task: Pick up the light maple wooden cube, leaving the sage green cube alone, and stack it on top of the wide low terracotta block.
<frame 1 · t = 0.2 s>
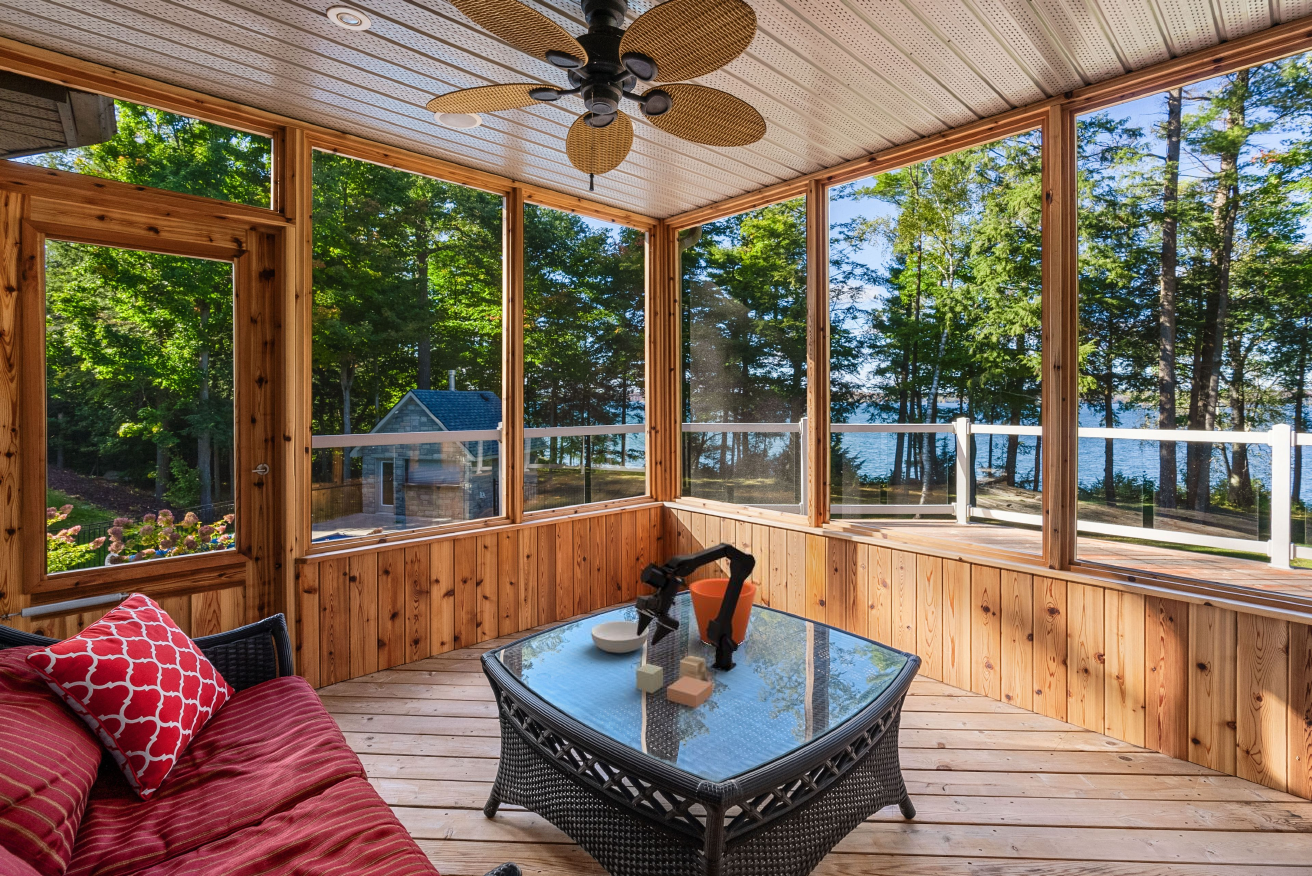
hand: (644, 640, 203), 14 cm above the table, tool tilted 30°, fingers open, 9 cm apart
serving bowl: (620, 648, 235), on the table
flowerpot: (722, 639, 244), on the table
maple cube: (692, 678, 209), on the table
terracotta base block: (690, 698, 196), on the table
sage green cube: (649, 687, 203), on the table
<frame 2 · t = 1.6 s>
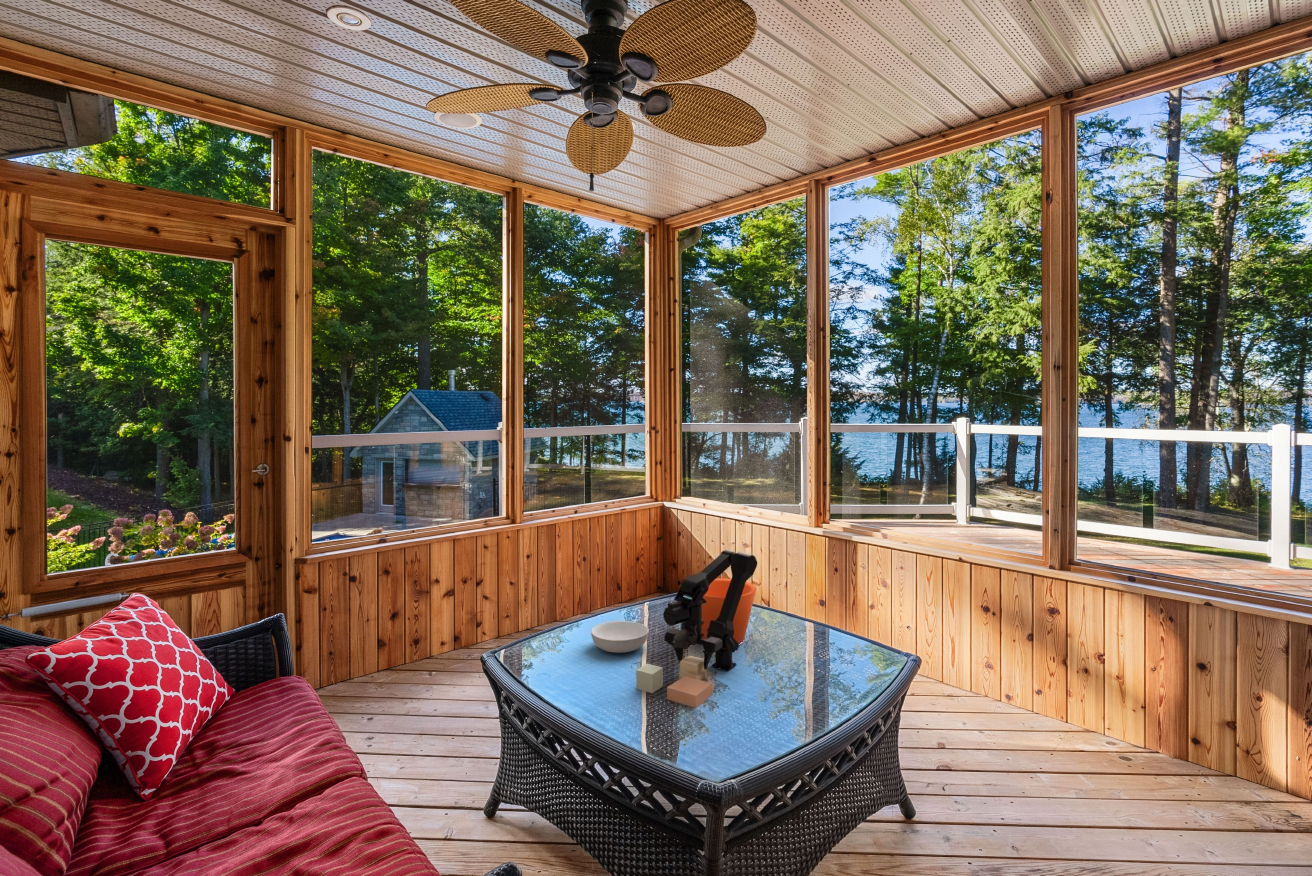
hand: (692, 665, 209), 4 cm above the table, tool pointing down, fingers open, 9 cm apart
nothing on the table moved.
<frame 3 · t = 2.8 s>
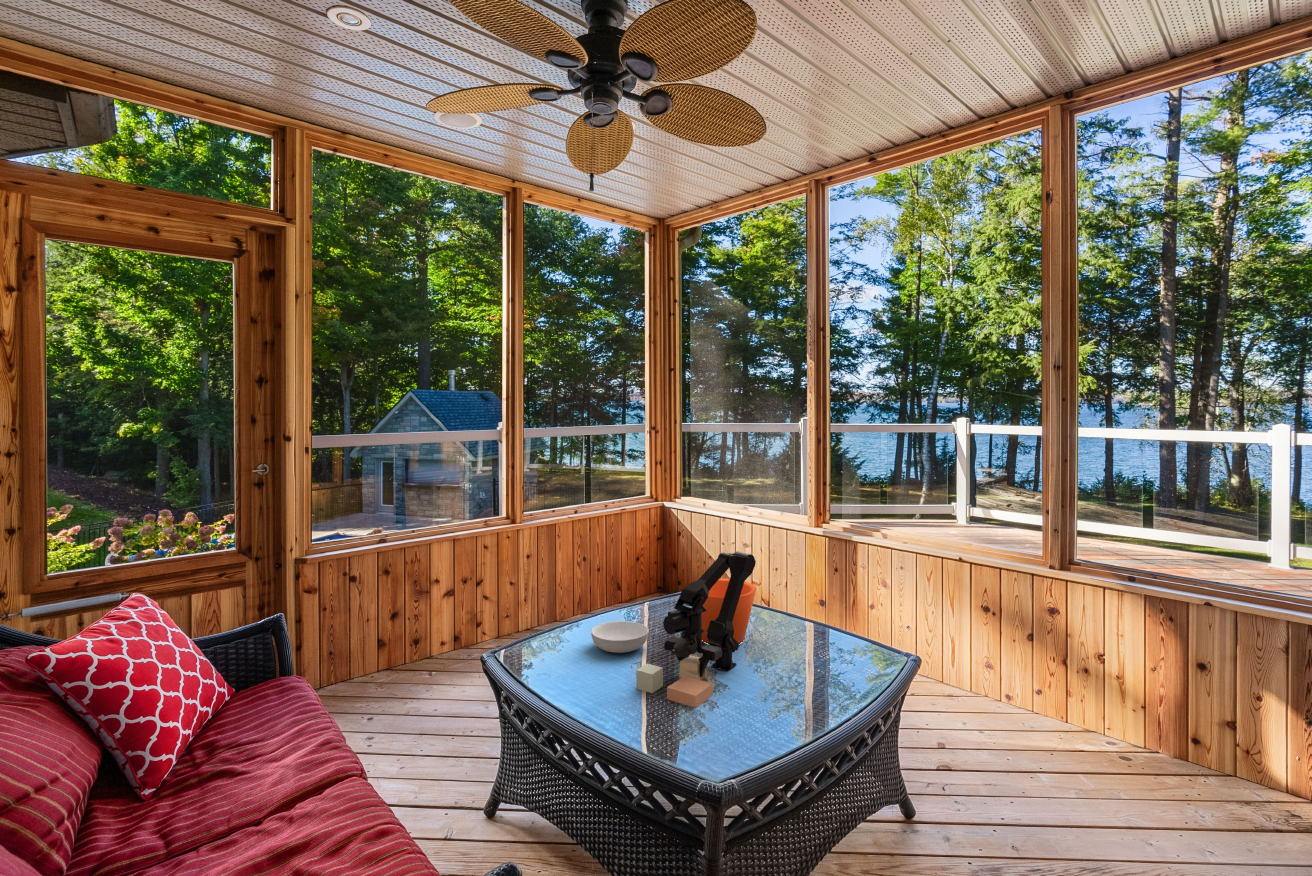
hand: (692, 674, 209), 1 cm above the table, tool pointing down, fingers closed on maple cube, 6 cm apart
maple cube: (692, 678, 209), on the table, touching gripper
everything else where it was.
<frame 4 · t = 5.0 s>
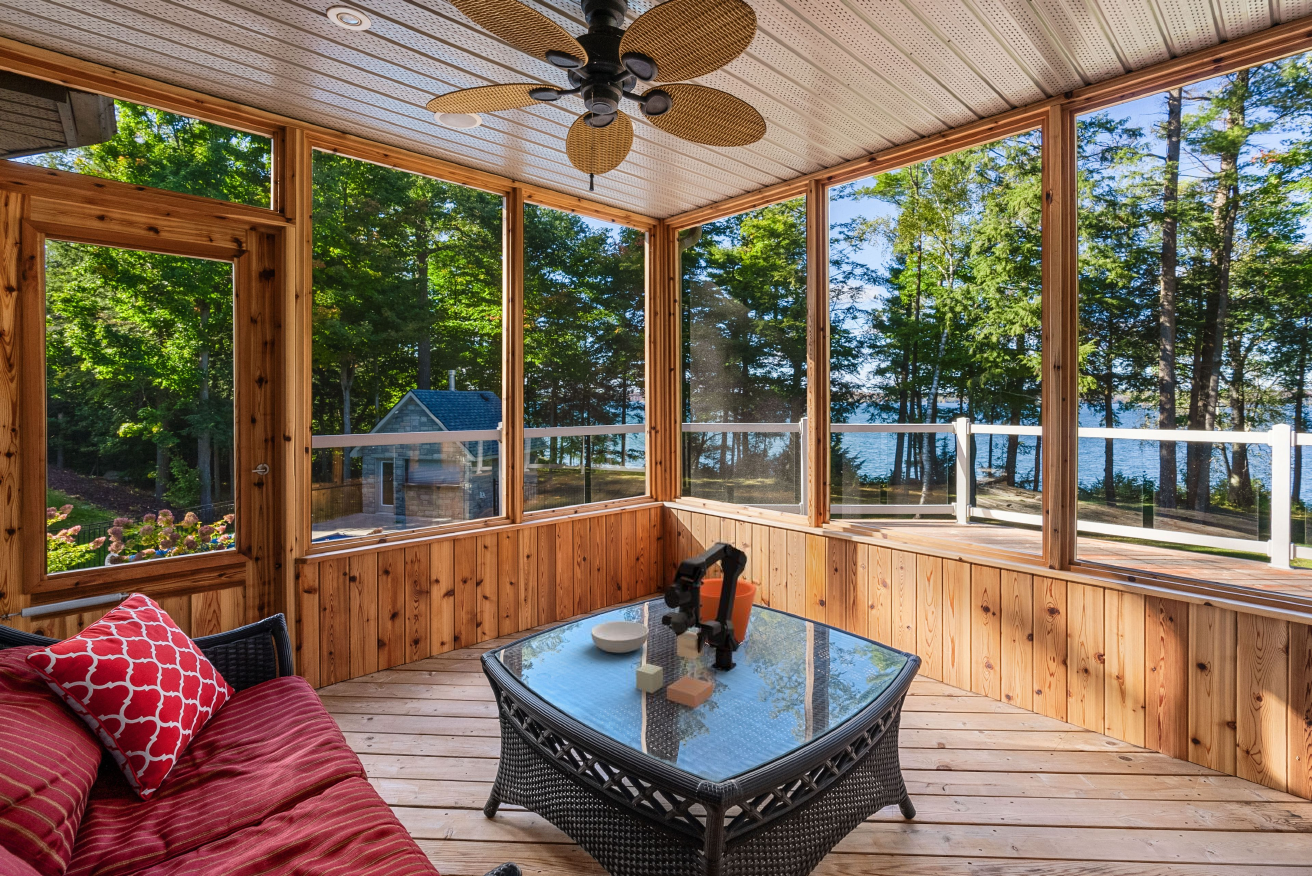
hand: (690, 650, 203), 11 cm above the table, tool pointing down, fingers closed on maple cube, 6 cm apart
maple cube: (690, 654, 203), point 10 cm above the table, touching gripper
everything else where it was.
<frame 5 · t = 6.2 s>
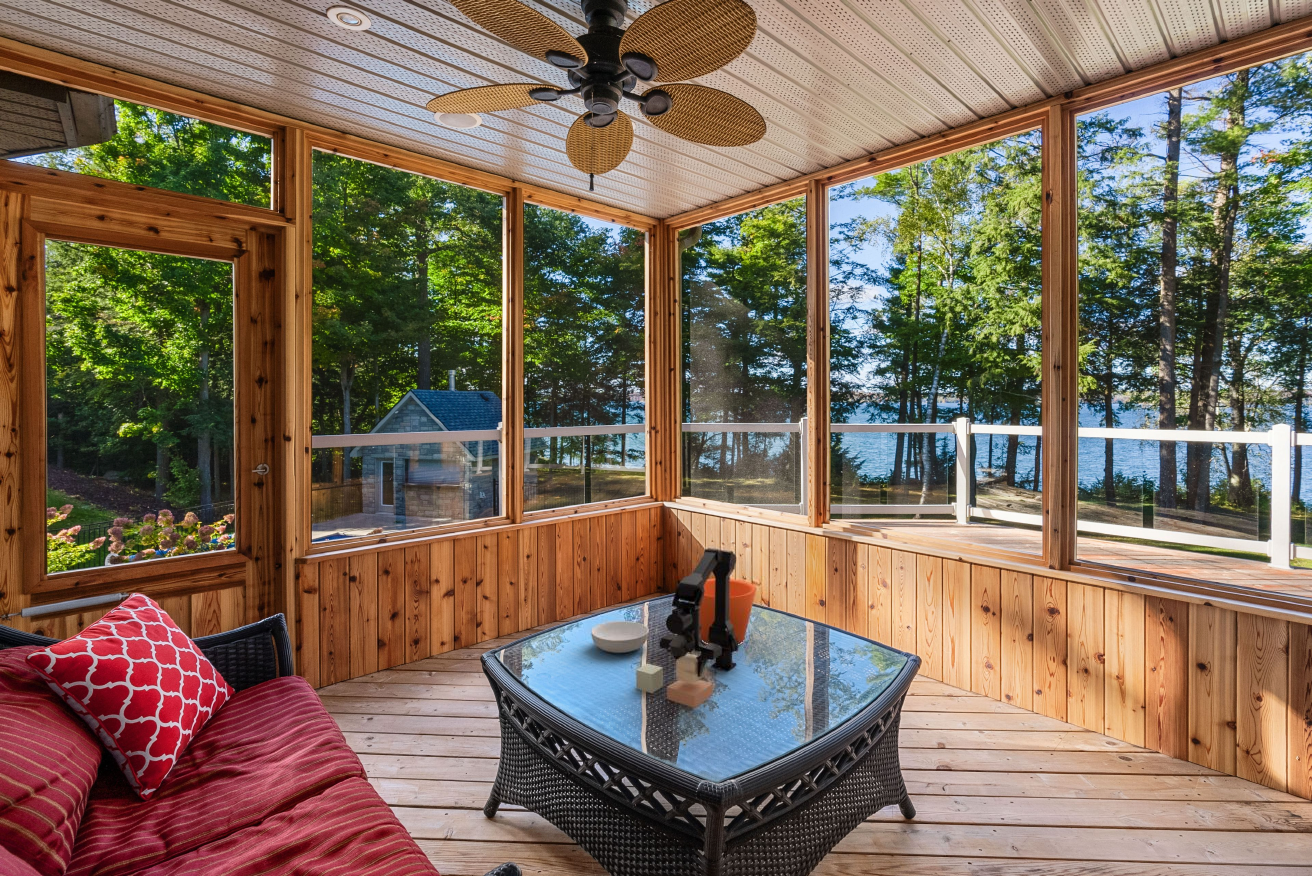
hand: (690, 674, 195), 7 cm above the table, tool pointing down, fingers closed on maple cube, 6 cm apart
maple cube: (690, 678, 196), point 6 cm above the table, touching gripper
everything else where it was.
when the fingers open (7 cm above the table, at t = 7.1 s): maple cube drops 2 cm, resting on terracotta base block.
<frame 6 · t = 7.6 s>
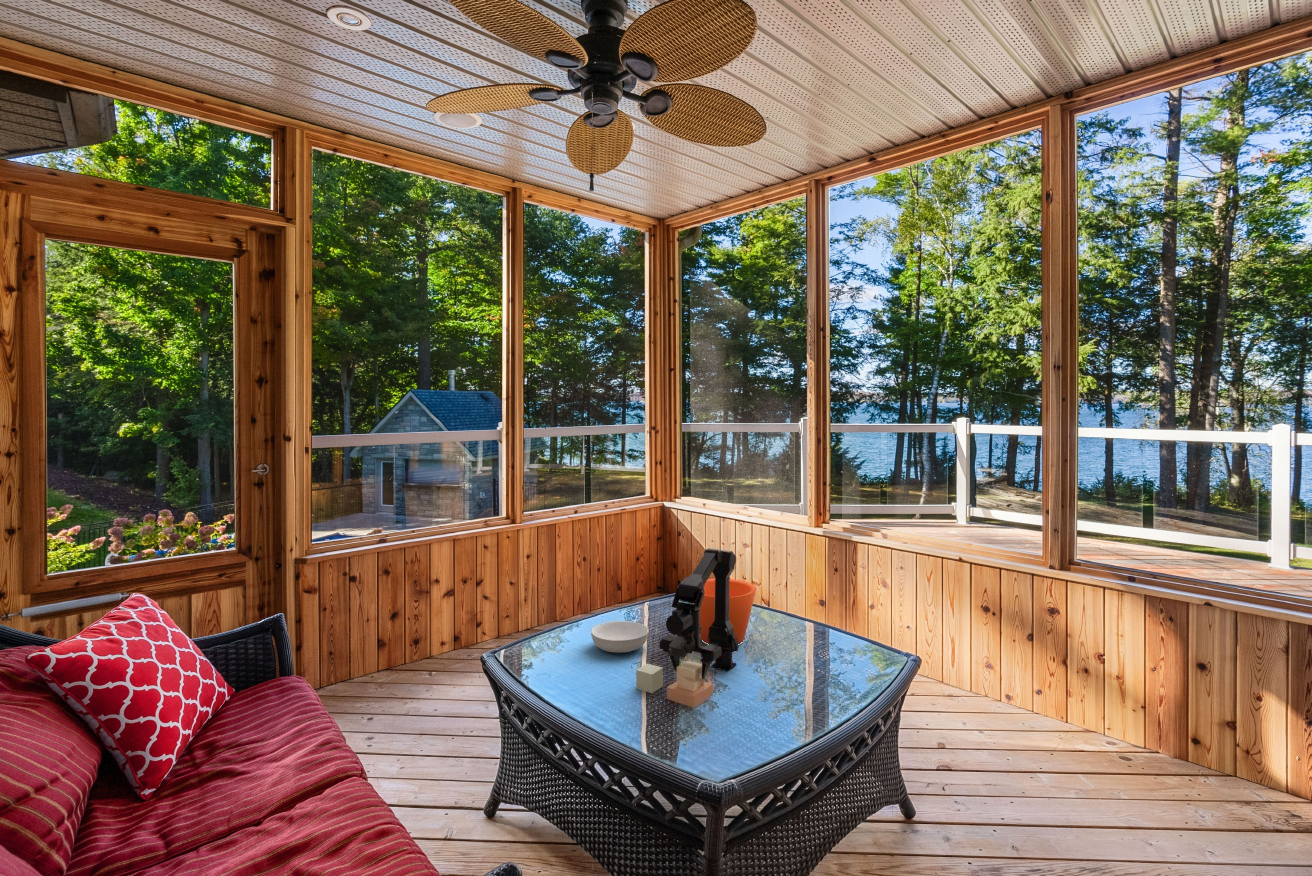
hand: (690, 675, 195), 7 cm above the table, tool pointing down, fingers open, 9 cm apart
maple cube: (690, 685, 196), point 4 cm above the table, touching terracotta base block
terracotta base block: (689, 698, 196), on the table, touching maple cube
everything else where it was.
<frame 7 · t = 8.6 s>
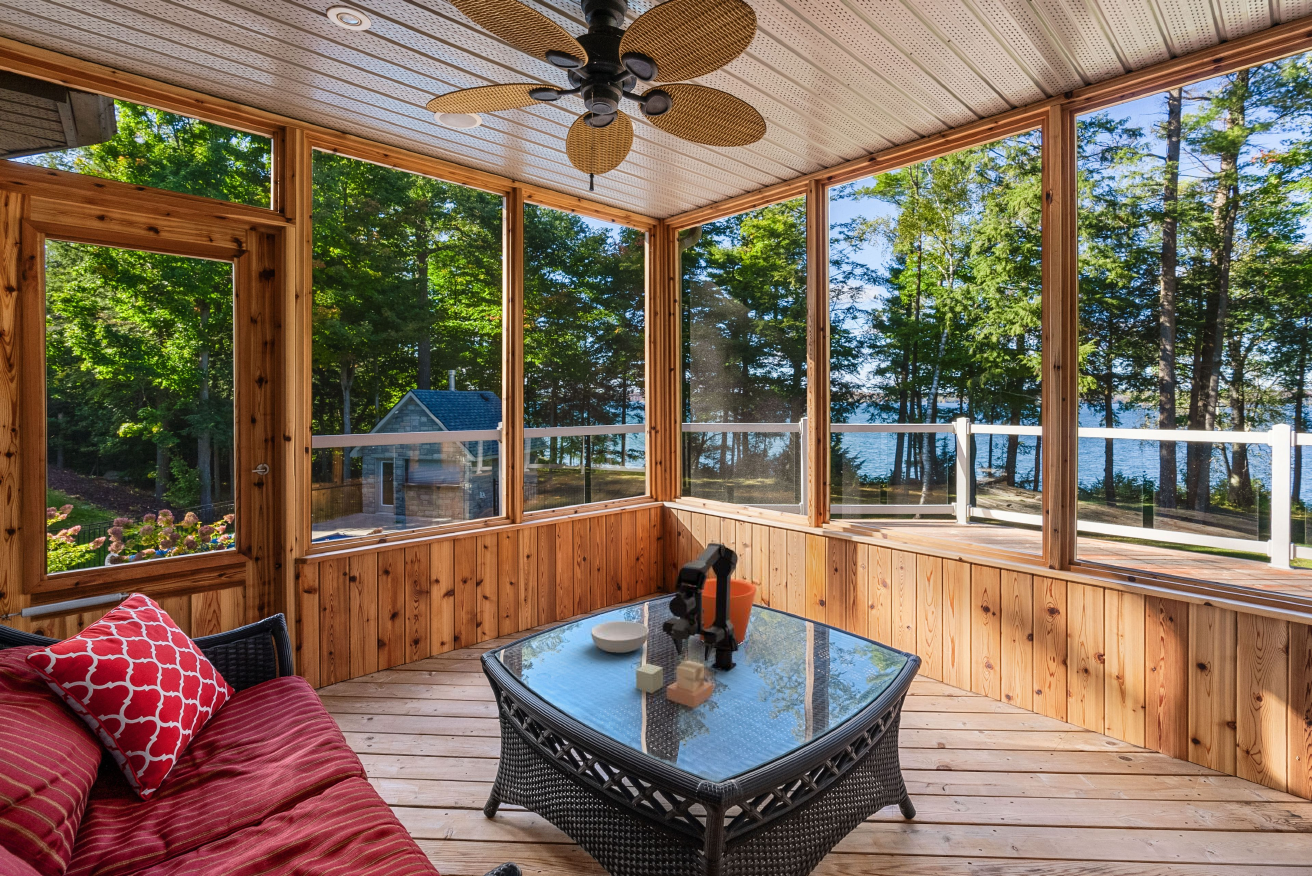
hand: (692, 657, 196), 12 cm above the table, tool pointing down, fingers open, 9 cm apart
nothing on the table moved.
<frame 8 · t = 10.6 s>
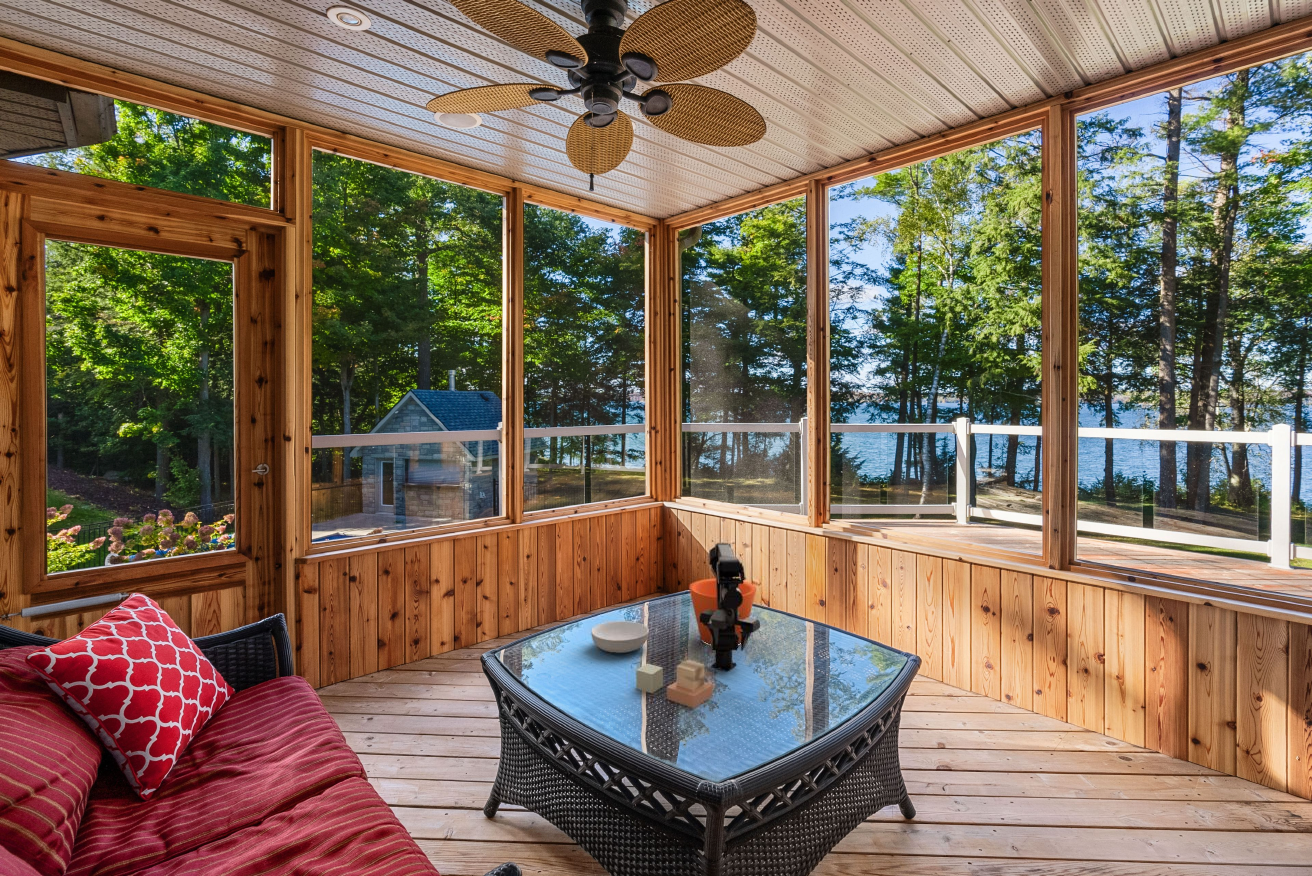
hand: (729, 647, 203), 12 cm above the table, tool pointing down, fingers open, 9 cm apart
nothing on the table moved.
at the end: maple cube 0.6 cm off-centre on the terracotta base block, point 4.0 cm above the terracotta base block's base; maple cube tilted 0°; sage green cube moved 0.1 cm from its start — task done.
